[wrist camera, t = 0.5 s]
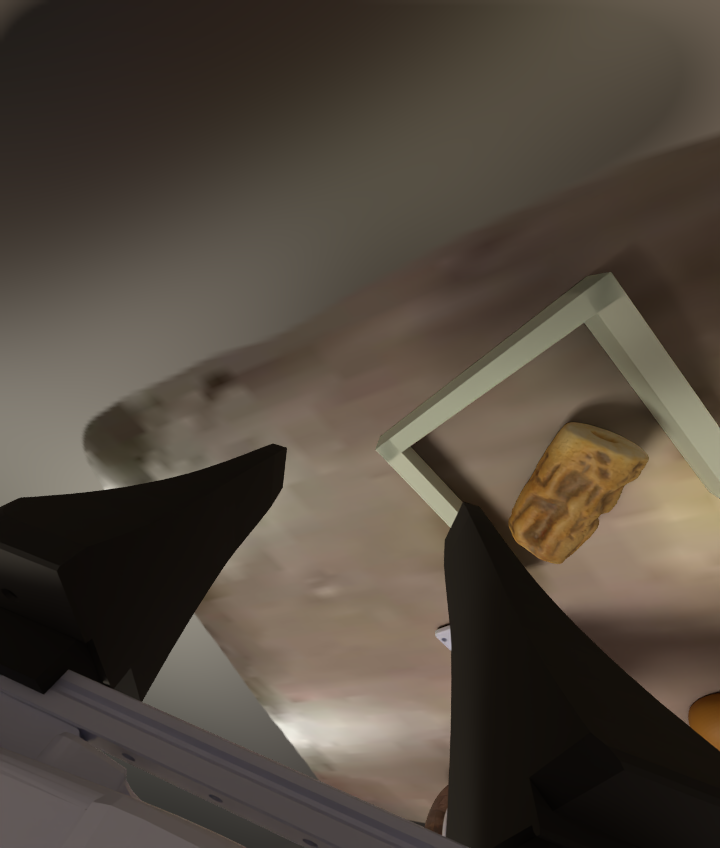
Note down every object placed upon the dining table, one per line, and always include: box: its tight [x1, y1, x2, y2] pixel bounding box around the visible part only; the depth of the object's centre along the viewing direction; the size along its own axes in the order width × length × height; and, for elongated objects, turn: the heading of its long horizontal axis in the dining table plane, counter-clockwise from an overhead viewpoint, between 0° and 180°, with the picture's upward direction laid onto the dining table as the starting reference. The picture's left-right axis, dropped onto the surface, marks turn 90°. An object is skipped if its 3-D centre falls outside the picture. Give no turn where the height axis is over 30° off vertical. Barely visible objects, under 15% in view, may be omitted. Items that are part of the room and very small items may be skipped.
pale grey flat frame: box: [375, 272, 720, 528], centre depth 17 cm, size 15×14×2 cm
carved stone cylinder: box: [509, 422, 649, 564], centre depth 17 cm, size 8×4×4 cm, turn 169°
